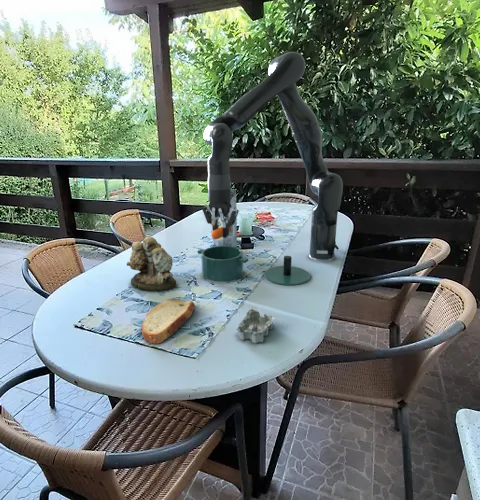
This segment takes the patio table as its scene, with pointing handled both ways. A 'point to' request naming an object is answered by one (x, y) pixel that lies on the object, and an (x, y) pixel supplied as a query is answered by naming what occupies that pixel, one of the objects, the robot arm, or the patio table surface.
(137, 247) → the owl figurine
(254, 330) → the egg carton
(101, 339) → the patio table surface
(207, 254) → the pot
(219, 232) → the carrot
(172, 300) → the bread slice
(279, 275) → the lid
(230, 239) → the juice carton
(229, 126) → the robot arm
